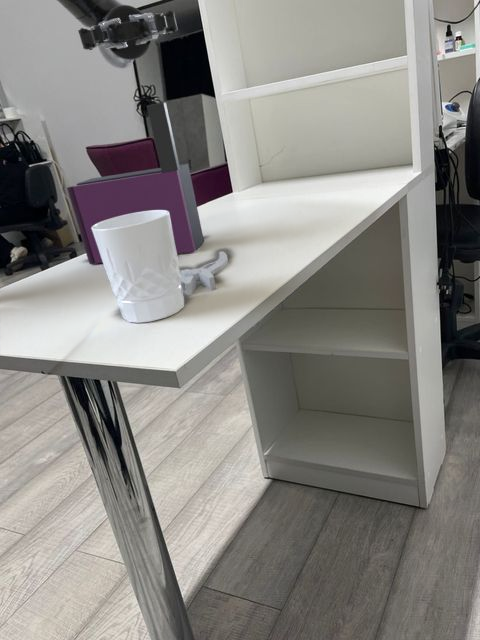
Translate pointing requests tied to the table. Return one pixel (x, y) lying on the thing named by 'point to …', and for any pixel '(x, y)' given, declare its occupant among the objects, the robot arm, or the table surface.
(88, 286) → the table surface
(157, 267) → the white cup
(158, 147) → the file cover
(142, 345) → the table surface
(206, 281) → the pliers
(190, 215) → the file box
